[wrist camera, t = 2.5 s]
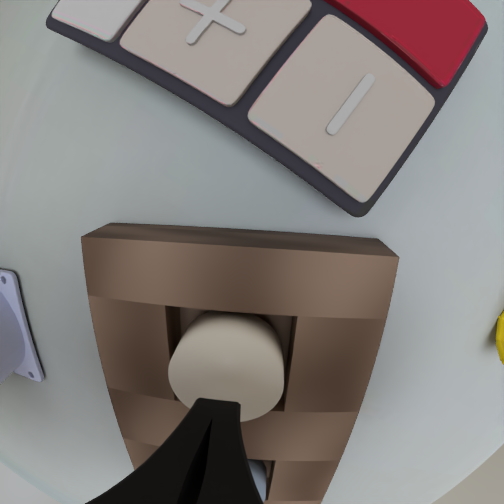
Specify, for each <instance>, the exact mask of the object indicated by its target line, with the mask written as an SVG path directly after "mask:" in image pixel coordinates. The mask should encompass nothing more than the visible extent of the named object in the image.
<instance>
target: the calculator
mask: <svg viewBox="0 0 504 504" xmlns="http://www.w3.org/2000/svg"><path fill="white" fill-rule="evenodd" d="M46 26H47V28H49V29H50V30H52V31H54V32H57V33H59V34H61V35H63V36H65V37H67V38H70V39H72V40H74V41H76V42H78V43H80V44H82V45H84V46H86V47H89V48H91V49H93V50H95V51H97V52H99V53H101V54H103V55H105V56H106V57H108V58H110V59H112V60H114V61H116V62H118V63H120V64H122V65H124V66H126V67H127V68H129V69H131V70H133V71H135V72H137V73H139V74H140V75H142V76H144V77H146V78H148V79H149V80H151V81H153V82H155V83H156V84H158V85H160V86H162V87H163V88H165V89H167V90H169V91H170V92H172V93H174V94H175V95H177V96H179V97H180V98H182V99H184V100H185V101H187V102H189V103H190V104H192V105H194V106H195V107H197V108H199V109H200V110H202V111H203V112H205V113H207V114H208V115H210V116H211V117H213V118H215V119H216V120H218V121H219V122H221V123H222V124H224V125H225V126H227V127H229V128H230V129H232V130H233V131H235V132H236V133H238V134H239V135H241V136H242V137H244V138H245V139H247V140H248V141H250V142H251V143H253V144H254V145H256V146H257V147H259V148H260V149H261V150H263V151H264V152H266V153H267V154H269V155H270V156H272V157H273V158H274V159H276V160H277V161H279V162H280V163H281V164H283V165H284V166H286V167H287V168H288V169H290V170H291V171H293V172H294V173H295V174H297V175H298V176H300V177H301V178H302V179H304V180H305V181H306V182H308V183H309V184H310V185H312V186H313V187H314V188H316V189H317V190H318V191H320V192H321V193H322V194H324V195H325V196H326V197H328V198H329V199H330V200H331V201H333V202H334V203H335V204H337V205H338V206H339V207H341V208H342V209H343V210H344V211H346V212H347V213H348V214H350V215H352V216H354V217H362V216H364V215H366V214H367V213H368V212H369V211H370V209H371V208H372V207H373V205H374V204H375V203H376V201H377V200H378V199H379V197H380V196H381V195H382V193H383V192H384V190H385V189H386V188H387V186H388V185H389V184H390V182H391V181H392V179H393V178H394V177H395V175H396V174H397V172H398V171H399V170H400V168H401V167H402V165H403V164H404V163H405V161H406V160H407V158H408V157H409V155H410V154H411V153H412V151H413V150H414V148H415V147H416V145H417V144H418V142H419V141H420V139H421V138H422V136H423V135H424V134H425V132H426V131H427V129H428V128H429V126H430V125H431V123H432V122H433V120H434V118H435V117H436V115H437V114H438V112H439V111H440V109H441V108H442V106H443V105H444V103H445V102H446V100H447V98H448V97H449V95H450V94H451V92H452V90H453V89H454V87H455V86H456V84H457V82H458V81H459V79H460V78H461V76H462V74H463V73H464V71H465V69H466V68H467V66H468V64H469V63H470V61H471V59H472V57H473V56H474V54H475V52H476V51H477V49H478V47H479V45H480V44H481V42H482V40H483V38H484V37H485V35H486V33H487V31H488V25H487V23H486V21H485V18H484V16H483V15H482V14H481V13H480V11H479V10H478V9H477V8H476V7H475V6H474V5H473V4H472V3H471V2H470V1H469V0H59V1H58V2H57V4H56V5H55V7H54V8H53V10H52V11H51V13H50V14H49V16H48V18H47V20H46Z"/></svg>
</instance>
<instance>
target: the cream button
mask: <svg viewBox="0 0 504 504" xmlns="http://www.w3.org/2000/svg"><path fill="white" fill-rule="evenodd" d="M168 377H169V382H170V385H171V388H172V389H173V391H174V393H175V394H176V396H177V397H178V398H179V400H180V401H181V402H182V403H183V404H184V405H186V406H187V407H188V408H190V409H191V407H192V406H193V404H194V402H195V401H196V399H198V398H207V399H216V400H224V401H234V402H238V403H239V404H241V415H240V422H243V421H248V420H252V419H255V418H258V417H260V416H262V415H264V414H266V413H267V412H269V411H270V410H271V409H272V408H273V407H274V406H275V405H276V404H277V403H278V401H279V400H280V398H281V396H282V393H283V389H284V365H283V347H282V344H281V341H280V339H279V337H278V335H277V333H276V332H275V330H274V329H273V328H272V327H271V326H270V325H269V324H268V323H267V322H265V321H264V320H262V319H261V318H259V317H257V316H256V315H254V314H251V313H242V312H229V311H218V310H213V311H210V312H207V313H204V314H202V315H200V316H198V317H197V318H196V319H194V320H193V321H192V322H191V323H190V324H189V325H188V327H187V328H186V330H185V332H184V333H183V336H182V338H181V340H180V342H179V344H178V346H177V348H176V350H175V352H174V354H173V356H172V358H171V360H170V363H169V368H168Z"/></svg>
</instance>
